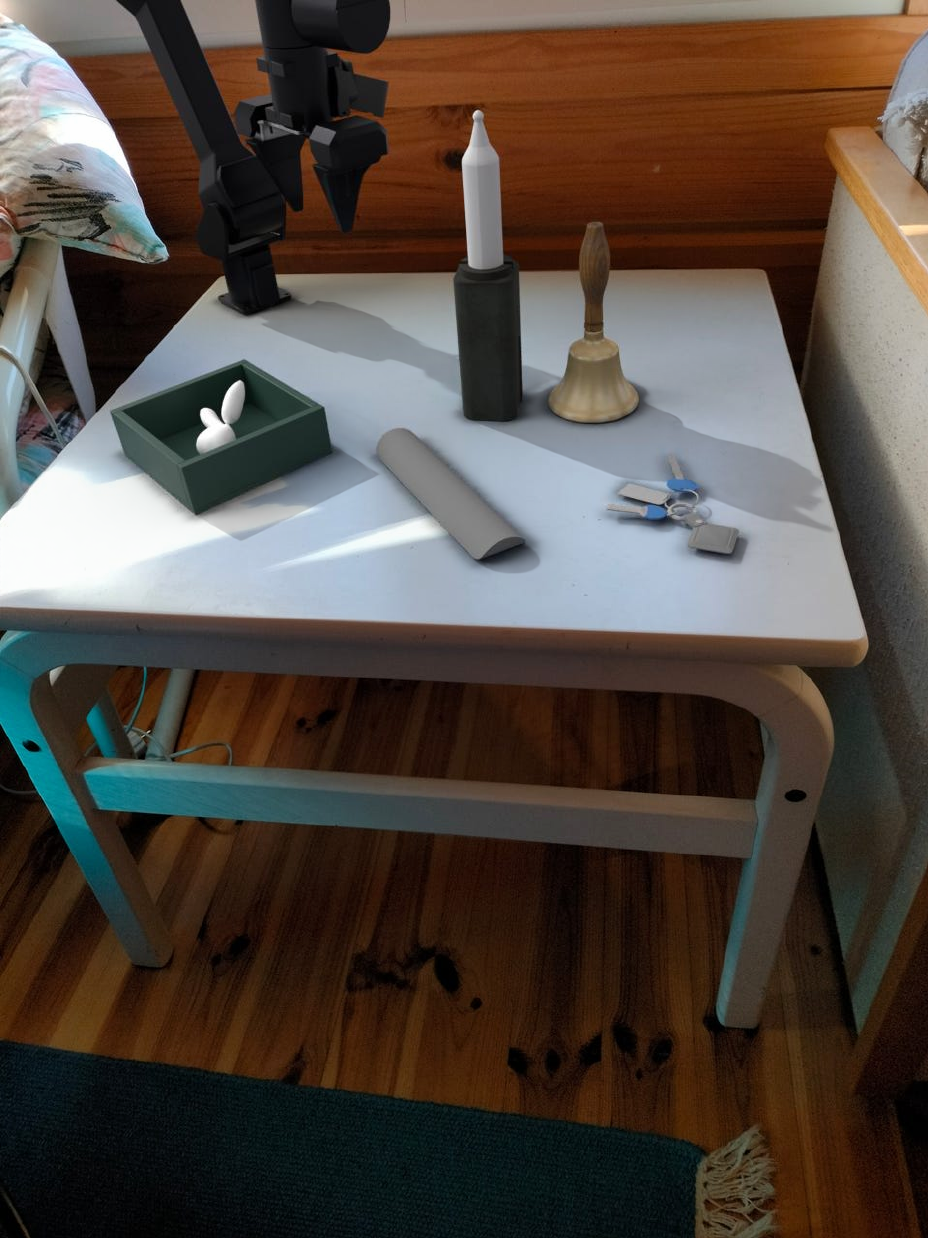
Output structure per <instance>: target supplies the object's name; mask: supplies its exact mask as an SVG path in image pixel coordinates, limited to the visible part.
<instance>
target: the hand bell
mask: <svg viewBox="0 0 928 1238" xmlns="http://www.w3.org/2000/svg"><path fill="white" fill-rule="evenodd" d="M610 270H611V253H610V247H609V243H608V239H607V236H606V234H605V229H604V223H603V222H601V221H591V222H588V223H587V224H586V229H585V234H584V237H583V240H582V242H581V246H580V250H579V256H578V271H579V273H578V274H579V280H580V285H581V288H582V291H583V296H584V317H583V319H584V320H583V321H584V322H583V328H584V331H583V337H582V338H580V339H577V340H575V341H574V342H573V343H571V344H570V346H569V348H568V352H567V362H566V365H565V366H566V367H565V371H564V374H563V376H562V378H561V381H560V382H559V383H558V384H557V385H556V386H555V387H554V388H553V389H552V391H551V392H550V394H549V396H548V400H547V402H548V403H547V404H548V407H549V409H550V410H551V411H552V412H553V413H554V414H555V415H557V416H558V417H560V418H563V419H565V420H567V421H571V422H576V423H583V424H584V423H585V424H592V423H593V424H599V423H607V422H613V421H616V420H619V419H622V418H624V417H626V416H627V415H629V414H632V412H634V410H635V409H637V408H638V406H639V402H640V400H639V399H640V397H639V394H638V392H637V390H636V389H635V388H634V386H633V385H632V384H631V383H630V382H628V381H627V379H626V377H625V375H624V372H623V369H622V365H621V357H620V347H619V345H618V343H617V342H616V341H614V340H613V339H611V338H608V337H605V336H604V330H605V329H604V327H605V326H604V325H605V324H604V296H605V292H606V289H607V286H608V282H609V277H610V272H611V271H610Z"/></svg>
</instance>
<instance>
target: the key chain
mask: <svg viewBox="0 0 928 1238" xmlns="http://www.w3.org/2000/svg"><path fill="white" fill-rule="evenodd" d="M667 457H668V463H669V464H670V467H671V468H672V473H673V474H674V477H675V478H669V479H668V480H667V481H666V486H667V488H668V489H669V490H671V492H670V493H666V492H664V491H660V490H656V489H653V488H648V487H644V486H641V485H637V484H634V483H627V484H626V485H625V486H624V487H623V488H622V489H620V490H619V491H618V492H617V493H616V495H619V496H623V497H627V498H631V499H634V500H638V501H641V502H645V503H650V504H645V506H640V505H637V506H635V505H634V506H632V505H629V504H625V505H624V504H615V503H607V505H606V506H605V509H606V510H607V511H610V512H611V511H612V512H618V513H619V512H620V513H626V514H627V513H628V514H634V515H635V514H636V515H640V516H642V517H643V519H646V520H648V521H649V520H650V521H659V520H662V519H665V517H670V518H671V519H673V520H676V521H677V522H684V523H685V524H687V525H688V526H689V527H690V528H691V529H692V530H691V533H690V535H689V538H688V541H687V543H686V545H687V547H688V548H689V549H690V548H691V549H696V550H701V551H708V552H713V553H720V554H725V555H731V554H732V553H733V551H734V548H735V545H736V542H737V539H738V536H739V532H740V530H739V528H737V527H732V526H725V525H721V524H720V525H719V524H713V523H708V521H706V520H705V519H703V518H702V517H701V516H700V514H699V512H698V510H697V507H696V505H697V504H699V501H700V496H699V494H698V493H697V492H696V491H697V490H698V487H699V486H698V483H696V482H695V481H694V480H691V479H689V478H685V477H684V474H683V471H682V472H681V467H680V465H679V463H678V462H677V459H676V457H675V456H674V454H673V453H672V452H668V453H667ZM677 492H678V493H683V494H684V493H686V494H687V493H689V494H690V493H693V494H695V495H696V501H695V502H694V504H691V503H688V502H675V503H673V504H671V505H670V506H669V505H668V503H667V502H668V500H670V498H671V497H672V494H674V493H675V494H676V493H677ZM663 504H664V507H666V508H667V511H666V509H665V508H664V507H661V506H660V505H663ZM678 508H680V509H678ZM687 510H691V511H692V512H690V513H687V514H684V515H681V516H679V515H677V513H678V512H683V511H687Z"/></svg>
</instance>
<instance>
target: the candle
mask: <svg viewBox="0 0 928 1238" xmlns="http://www.w3.org/2000/svg"><path fill="white" fill-rule="evenodd" d="M484 118H485V114H484V113H483V111H482V110H478V109H477V110H475V111H474V112H473V114H472V119H473V125H472V131H471V135H470V141H469V144H468V147H467V148H466V150H465V152H464V155H463V156H462V159H461V169H462V170H461V171H462V184H463V200H464V215H465V217H464V218H465V230H466V248H467V256H466V257H464V258H462V259H461V260H460V263H458V268H457V270H456V272H455V274H454V275H453V278H452V282H453V294H454V295H453V296H454V308H455V309H454V311H455V322H456V323H455V324H456V336H457V347H458V348H457V349H458V360H459V361H458V362H459V363H458V364H459V373H460V375H459V376H460V390H461V402H462V415H463V417H465V418H466V419H467V420H472V421H492V422H493V421H495V422H497V421H498V422H508V421H512V420H515V419H516V418H517V417H518V416H519V408H520V404H521V403H522V402H523V401H524V393H523V392H524V391H523V390H524V389H523V356H522V328H521V327H522V324H521V293H520V292H521V290H520V288H521V287H520V286H521V285H520V265H519V262H517V261H515V260H514V259H513V258H512V257H511V256H510V255H507V254H505V253H504V249H503V248H504V246H503V222H502V194H501V175H500V174H501V173H500V172H501V171H500V170H501V169H500V156H499V154H498V153H497V151H496V149H494V147H493V146H492V144H491V141H490V139H489V136H488V132H487V129H486V127H485V124H484V121H483V120H484Z"/></svg>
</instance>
